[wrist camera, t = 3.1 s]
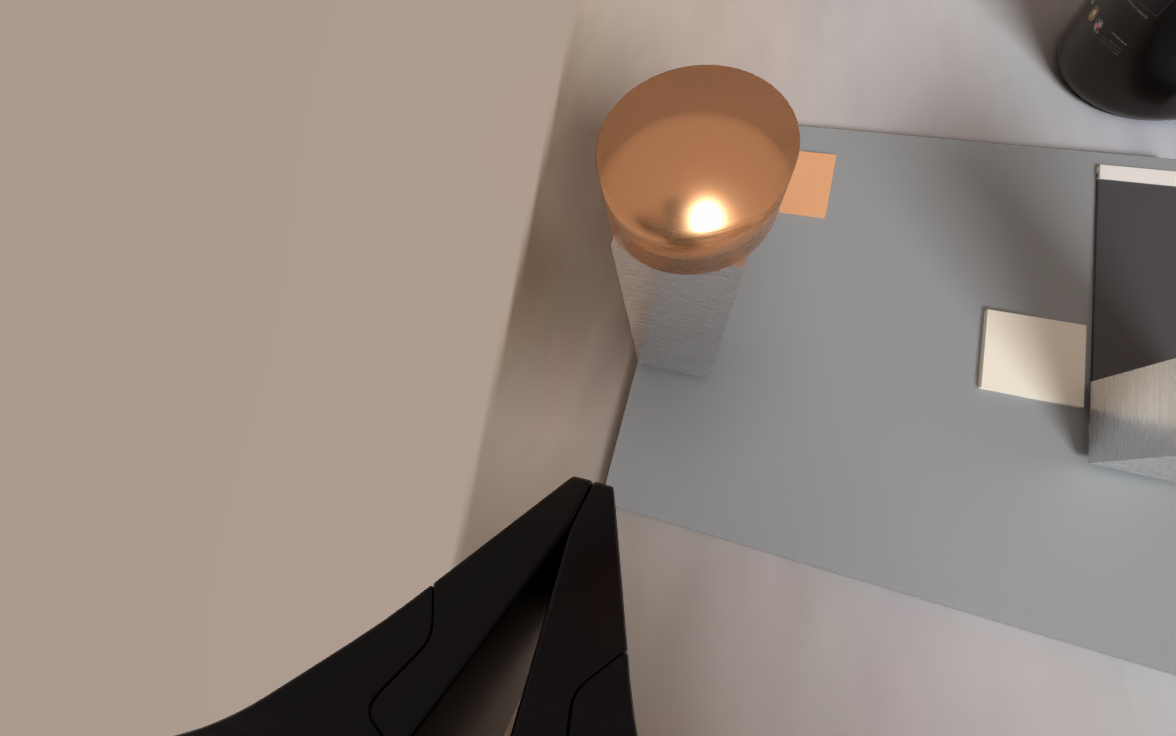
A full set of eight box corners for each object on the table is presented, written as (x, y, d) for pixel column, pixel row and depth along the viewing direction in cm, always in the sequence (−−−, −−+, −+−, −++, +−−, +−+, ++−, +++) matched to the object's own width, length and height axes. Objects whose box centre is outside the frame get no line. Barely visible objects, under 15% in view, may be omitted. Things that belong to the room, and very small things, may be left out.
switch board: (1172, 673, 14) (1201, 683, 13) (602, 502, 18) (599, 502, 17) (1167, 170, 18) (1189, 156, 17) (701, 127, 22) (702, 113, 21)
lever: (717, 391, 17) (780, 246, 7) (626, 370, 18) (573, 215, 8) (735, 305, 18) (815, 71, 8) (648, 290, 19) (623, 59, 9)
